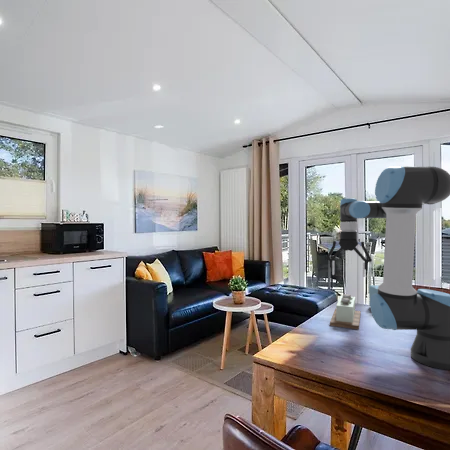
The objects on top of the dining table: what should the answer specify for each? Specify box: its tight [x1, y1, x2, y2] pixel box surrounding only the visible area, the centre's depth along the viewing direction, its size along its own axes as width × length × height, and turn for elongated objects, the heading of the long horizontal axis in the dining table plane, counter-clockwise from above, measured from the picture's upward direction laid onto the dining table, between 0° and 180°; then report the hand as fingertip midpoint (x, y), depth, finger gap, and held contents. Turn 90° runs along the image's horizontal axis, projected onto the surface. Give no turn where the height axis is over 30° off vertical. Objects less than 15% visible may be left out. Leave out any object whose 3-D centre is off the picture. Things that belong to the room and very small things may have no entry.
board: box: [329, 293, 362, 330], centre depth 153 cm, size 25×12×11 cm, turn 155°
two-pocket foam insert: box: [336, 295, 356, 323], centre depth 154 cm, size 21×7×7 cm, turn 155°
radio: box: [368, 271, 381, 307], centre depth 167 cm, size 16×9×20 cm, turn 179°
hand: (348, 275), depth 153 cm, fingers open, 13 cm apart
